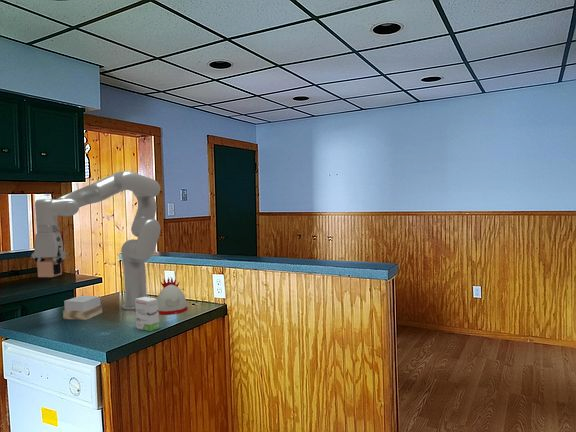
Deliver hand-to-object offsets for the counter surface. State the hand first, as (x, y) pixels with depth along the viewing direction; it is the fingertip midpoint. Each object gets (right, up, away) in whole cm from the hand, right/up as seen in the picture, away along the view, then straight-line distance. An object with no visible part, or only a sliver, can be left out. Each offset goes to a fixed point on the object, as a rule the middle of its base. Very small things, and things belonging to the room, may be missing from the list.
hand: (50, 273), depth 170 cm
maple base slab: (+7, -21, +14) cm, 26 cm away
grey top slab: (+7, -17, +14) cm, 23 cm away
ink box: (+42, -21, -6) cm, 47 cm away
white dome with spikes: (+44, -20, +19) cm, 52 cm away
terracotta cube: (0, -1, 0) cm, 1 cm away
